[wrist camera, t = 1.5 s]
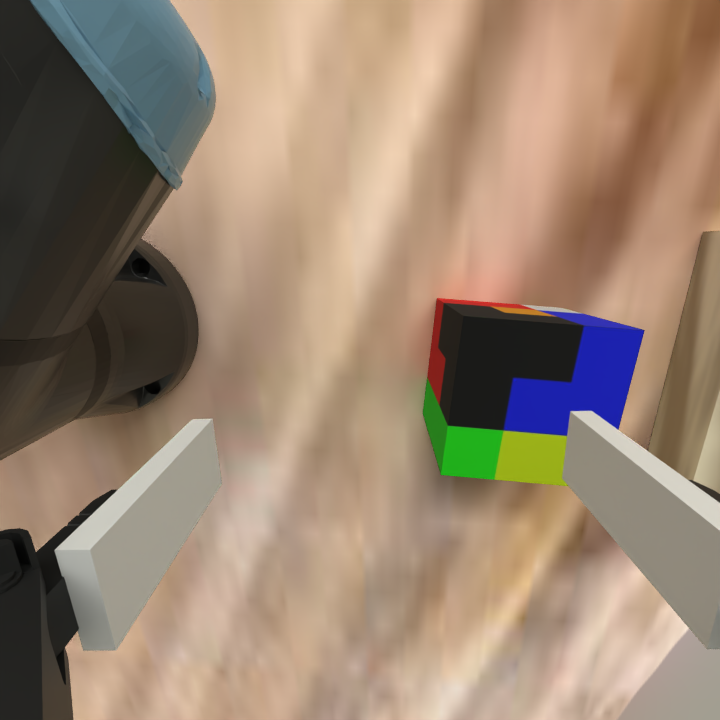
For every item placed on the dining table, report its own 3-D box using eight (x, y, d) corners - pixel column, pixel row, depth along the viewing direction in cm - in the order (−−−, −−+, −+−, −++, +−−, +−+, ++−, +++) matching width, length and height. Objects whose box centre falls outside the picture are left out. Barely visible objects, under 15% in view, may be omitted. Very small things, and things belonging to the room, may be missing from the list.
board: (637, 490, 35) (679, 527, 30) (703, 232, 29) (767, 226, 24) (671, 492, 35) (719, 530, 30) (744, 233, 29) (816, 228, 24)
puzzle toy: (561, 307, 31) (644, 330, 22) (538, 423, 34) (602, 489, 24) (436, 298, 32) (463, 315, 22) (422, 413, 34) (440, 474, 24)
